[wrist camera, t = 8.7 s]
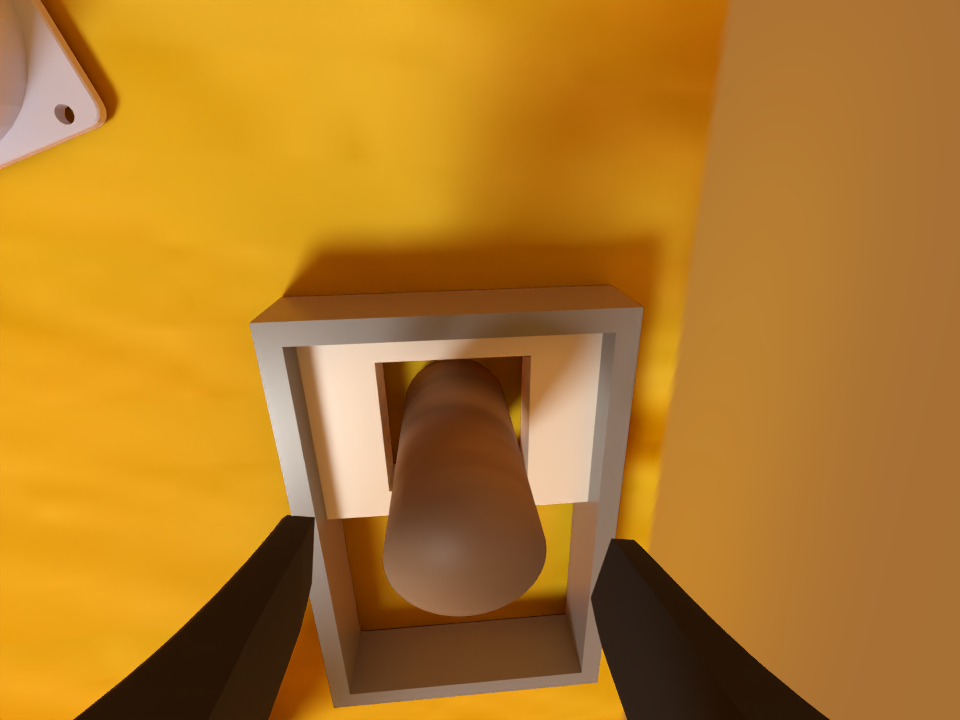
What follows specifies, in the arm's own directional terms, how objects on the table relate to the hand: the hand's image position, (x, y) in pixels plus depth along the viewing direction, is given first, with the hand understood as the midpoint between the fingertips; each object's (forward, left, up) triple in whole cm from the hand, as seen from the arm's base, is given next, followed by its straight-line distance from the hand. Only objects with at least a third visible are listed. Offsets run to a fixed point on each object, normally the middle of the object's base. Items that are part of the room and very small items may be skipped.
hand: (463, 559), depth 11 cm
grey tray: (-1, -4, -8) cm, 9 cm away
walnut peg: (0, 0, -8) cm, 8 cm away
